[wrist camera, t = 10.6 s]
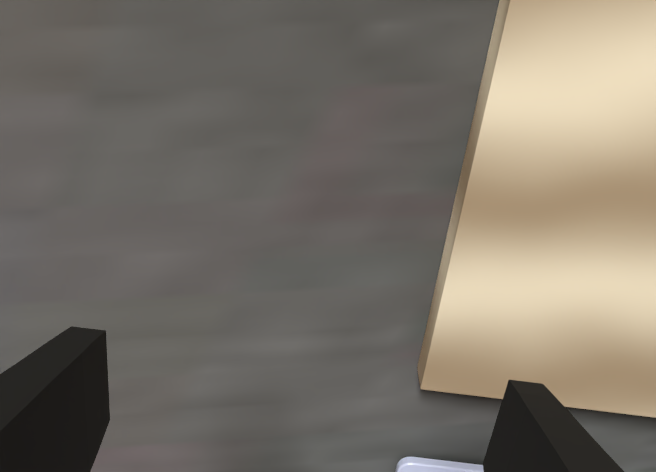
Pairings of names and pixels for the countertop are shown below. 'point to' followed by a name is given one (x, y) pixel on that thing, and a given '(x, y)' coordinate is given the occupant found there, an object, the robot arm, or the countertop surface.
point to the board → (555, 214)
